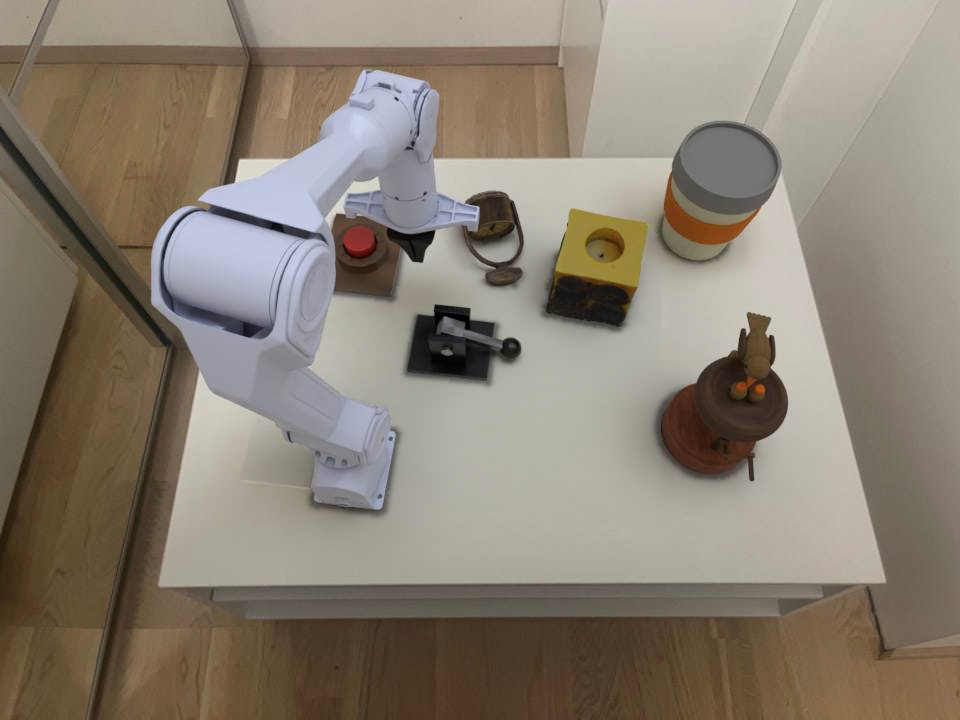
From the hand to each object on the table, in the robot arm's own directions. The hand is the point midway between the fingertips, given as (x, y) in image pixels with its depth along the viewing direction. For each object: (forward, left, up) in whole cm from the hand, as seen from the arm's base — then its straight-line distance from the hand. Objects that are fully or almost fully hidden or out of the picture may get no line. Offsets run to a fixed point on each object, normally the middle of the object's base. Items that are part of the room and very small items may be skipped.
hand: (418, 255), depth 80 cm
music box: (-15, -37, -10) cm, 41 cm away
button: (+5, +9, -7) cm, 13 cm away
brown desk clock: (+9, -8, -10) cm, 15 cm away
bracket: (-7, -5, -10) cm, 13 cm away
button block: (+5, +9, -10) cm, 15 cm away
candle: (+4, -22, -10) cm, 24 cm away
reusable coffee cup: (+15, -36, -10) cm, 40 cm away
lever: (-7, -8, -8) cm, 13 cm away
